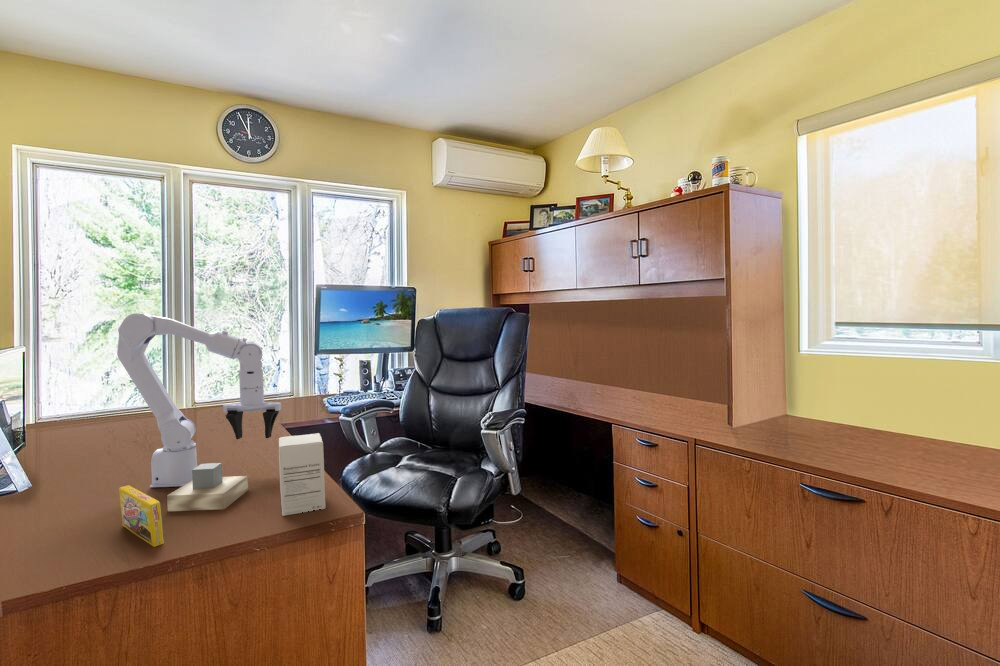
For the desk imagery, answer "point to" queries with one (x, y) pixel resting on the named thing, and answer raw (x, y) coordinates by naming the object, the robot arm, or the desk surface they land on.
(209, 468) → the slate cube
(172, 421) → the robot arm
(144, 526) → the candy box
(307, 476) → the supplement box
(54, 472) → the desk surface
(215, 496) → the birch block
